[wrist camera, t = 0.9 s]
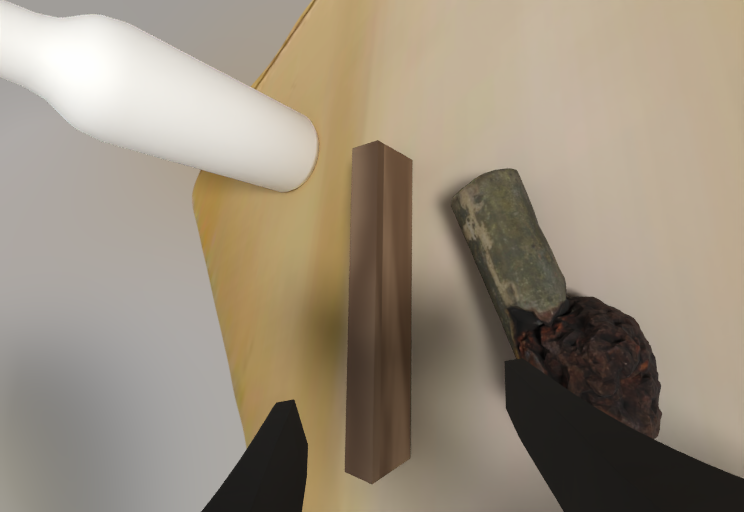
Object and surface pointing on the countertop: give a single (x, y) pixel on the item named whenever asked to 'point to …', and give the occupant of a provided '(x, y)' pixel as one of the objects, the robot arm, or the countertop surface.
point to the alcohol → (155, 98)
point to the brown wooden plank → (379, 313)
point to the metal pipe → (555, 307)
